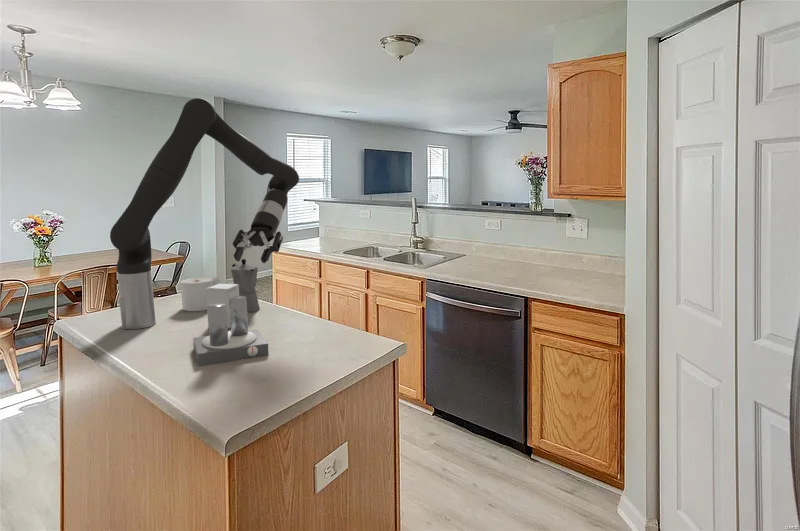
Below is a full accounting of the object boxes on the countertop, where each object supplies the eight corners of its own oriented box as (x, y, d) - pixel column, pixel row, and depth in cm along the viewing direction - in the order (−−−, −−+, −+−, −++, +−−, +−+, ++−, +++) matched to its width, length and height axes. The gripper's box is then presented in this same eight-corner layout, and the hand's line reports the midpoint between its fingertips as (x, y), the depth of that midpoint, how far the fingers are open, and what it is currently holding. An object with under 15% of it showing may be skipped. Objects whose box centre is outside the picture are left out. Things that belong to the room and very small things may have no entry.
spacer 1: (211, 347, 123) (208, 308, 121) (209, 342, 127) (206, 304, 125) (229, 344, 125) (226, 306, 123) (227, 339, 129) (224, 302, 127)
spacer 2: (232, 336, 131) (230, 300, 130) (230, 332, 135) (227, 297, 133) (249, 334, 133) (247, 298, 131) (246, 330, 137) (244, 295, 135)
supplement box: (229, 329, 150) (226, 288, 148) (207, 327, 152) (204, 287, 149) (241, 322, 157) (239, 283, 155) (220, 321, 159) (218, 282, 156)
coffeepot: (268, 310, 171) (265, 259, 168) (242, 315, 165) (239, 263, 162) (247, 302, 182) (244, 254, 179) (222, 307, 176) (219, 257, 172)
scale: (198, 366, 120) (197, 352, 120) (194, 348, 133) (193, 335, 132) (268, 354, 128) (268, 341, 127) (257, 339, 141) (257, 327, 140)
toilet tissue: (175, 310, 172) (173, 282, 170) (198, 302, 183) (196, 276, 181) (201, 312, 169) (199, 284, 167) (223, 304, 180) (221, 277, 178)
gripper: (242, 209, 151) (222, 251, 142) (284, 211, 147) (267, 254, 138) (251, 225, 157) (233, 266, 148) (293, 227, 153) (276, 269, 144)
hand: (249, 260), depth 143 cm, fingers open, 8 cm apart
